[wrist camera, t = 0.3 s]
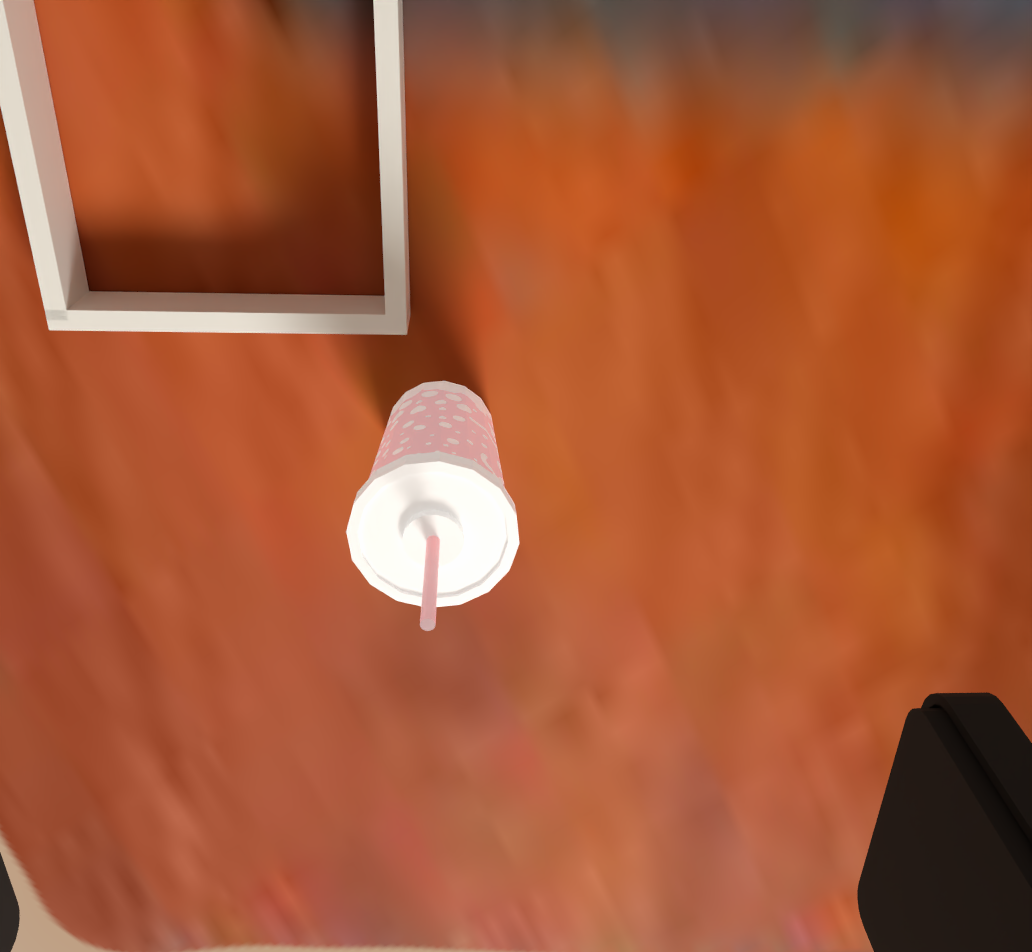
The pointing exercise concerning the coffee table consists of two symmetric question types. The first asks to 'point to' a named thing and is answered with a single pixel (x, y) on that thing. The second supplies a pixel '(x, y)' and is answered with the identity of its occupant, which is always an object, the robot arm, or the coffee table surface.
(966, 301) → the coffee table surface
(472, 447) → the beverage cup
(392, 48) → the u-shaped frame
